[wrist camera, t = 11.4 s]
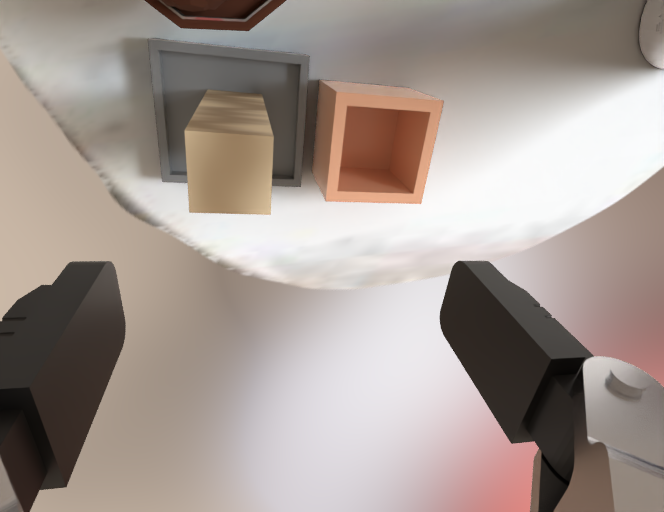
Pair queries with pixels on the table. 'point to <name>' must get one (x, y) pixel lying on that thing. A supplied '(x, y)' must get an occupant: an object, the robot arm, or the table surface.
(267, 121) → the birch peg
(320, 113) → the orange open box
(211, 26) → the ice cream bowl
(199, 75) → the grey square tray
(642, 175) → the table surface
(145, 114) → the table surface
